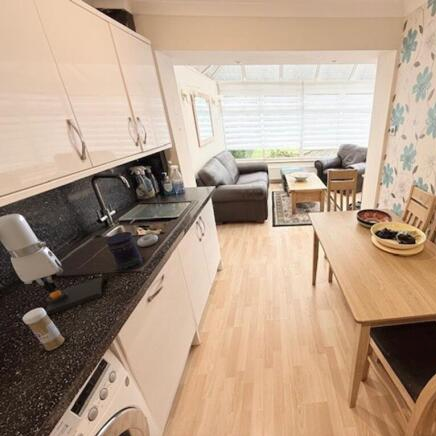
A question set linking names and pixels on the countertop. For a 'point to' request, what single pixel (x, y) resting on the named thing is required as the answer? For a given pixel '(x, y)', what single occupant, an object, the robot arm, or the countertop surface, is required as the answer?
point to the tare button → (55, 294)
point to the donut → (147, 240)
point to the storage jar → (124, 251)
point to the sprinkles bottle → (43, 328)
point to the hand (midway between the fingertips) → (53, 290)
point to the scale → (75, 295)
